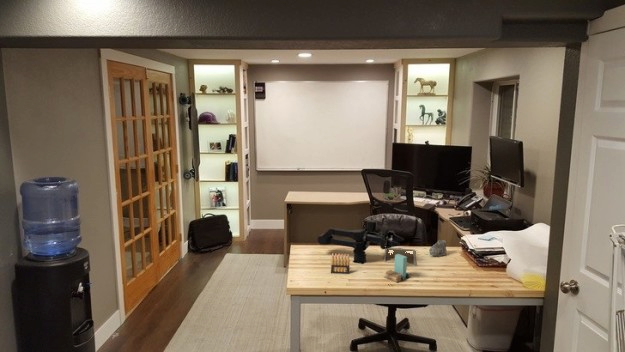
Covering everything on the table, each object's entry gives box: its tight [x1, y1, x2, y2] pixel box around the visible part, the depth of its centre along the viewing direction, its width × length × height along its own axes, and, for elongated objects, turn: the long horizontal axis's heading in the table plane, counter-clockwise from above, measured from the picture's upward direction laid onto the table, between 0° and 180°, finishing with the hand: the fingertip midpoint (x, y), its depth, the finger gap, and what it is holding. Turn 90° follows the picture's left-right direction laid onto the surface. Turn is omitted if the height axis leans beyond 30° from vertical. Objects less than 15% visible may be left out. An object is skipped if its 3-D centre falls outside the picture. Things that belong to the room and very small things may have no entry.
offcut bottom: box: [384, 275, 401, 283], centre depth 237 cm, size 8×4×1 cm, turn 40°
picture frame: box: [383, 247, 417, 266], centre depth 274 cm, size 19×2×30 cm
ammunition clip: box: [330, 252, 351, 275], centre depth 246 cm, size 11×2×12 cm, turn 85°
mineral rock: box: [428, 239, 447, 257], centre depth 277 cm, size 13×11×10 cm
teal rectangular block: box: [393, 254, 408, 278], centre depth 240 cm, size 6×3×12 cm, turn 40°
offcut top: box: [385, 269, 402, 278], centre depth 236 cm, size 8×4×1 cm, turn 40°
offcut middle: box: [384, 272, 401, 280], centre depth 237 cm, size 8×4×1 cm, turn 40°
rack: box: [383, 272, 411, 284], centre depth 239 cm, size 10×11×3 cm
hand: (401, 241), depth 251 cm, fingers open, 9 cm apart
